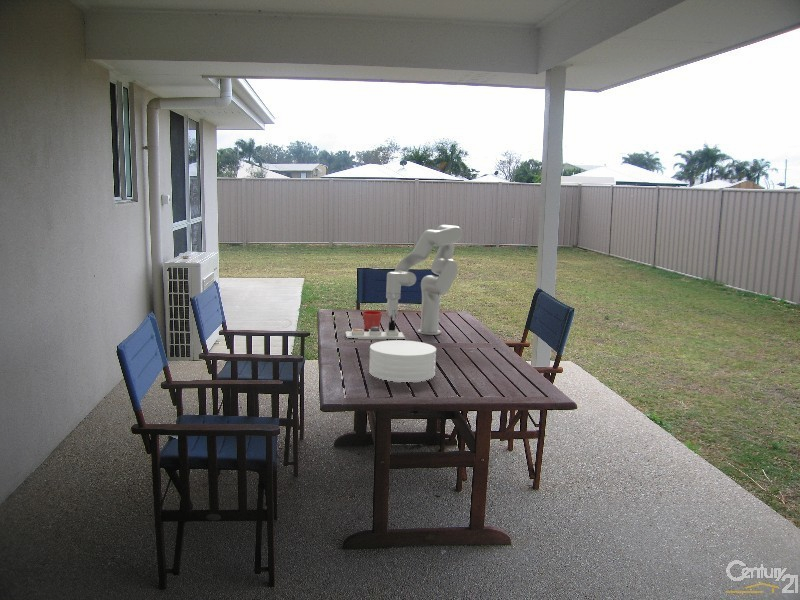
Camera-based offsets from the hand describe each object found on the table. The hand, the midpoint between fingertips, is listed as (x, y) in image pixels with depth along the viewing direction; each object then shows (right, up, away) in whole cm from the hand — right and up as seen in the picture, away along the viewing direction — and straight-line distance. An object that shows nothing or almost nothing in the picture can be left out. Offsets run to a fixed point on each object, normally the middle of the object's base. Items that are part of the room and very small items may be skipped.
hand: (391, 330), depth 367 cm
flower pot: (-11, -1, +18) cm, 21 cm away
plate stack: (+5, -16, -70) cm, 72 cm away
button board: (-9, -4, 0) cm, 10 cm away
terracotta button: (-18, -2, -2) cm, 18 cm away
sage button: (0, -2, 0) cm, 2 cm away
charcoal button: (-9, -1, -1) cm, 9 cm away
